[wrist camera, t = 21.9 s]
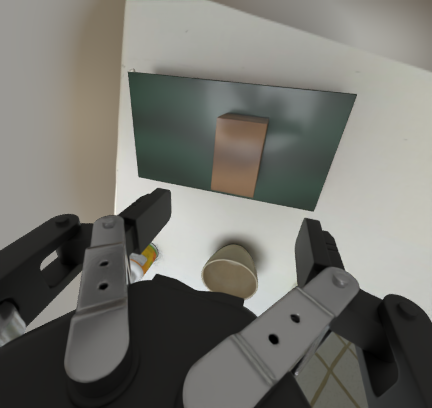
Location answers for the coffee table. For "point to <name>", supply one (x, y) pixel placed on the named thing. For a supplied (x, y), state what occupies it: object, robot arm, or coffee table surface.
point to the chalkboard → (241, 104)
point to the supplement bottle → (142, 262)
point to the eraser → (238, 153)
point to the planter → (333, 376)
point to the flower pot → (231, 272)
